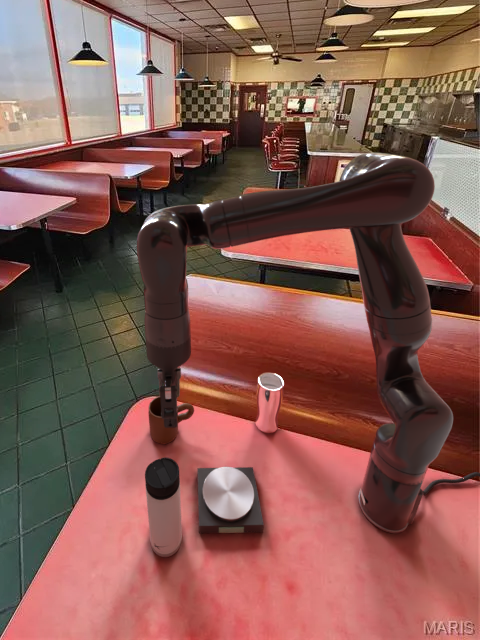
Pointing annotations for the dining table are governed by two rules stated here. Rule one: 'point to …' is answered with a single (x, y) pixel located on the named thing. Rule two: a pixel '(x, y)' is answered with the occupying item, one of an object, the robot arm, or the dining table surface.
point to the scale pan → (228, 494)
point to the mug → (157, 423)
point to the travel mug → (164, 506)
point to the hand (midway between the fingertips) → (171, 406)
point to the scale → (215, 525)
